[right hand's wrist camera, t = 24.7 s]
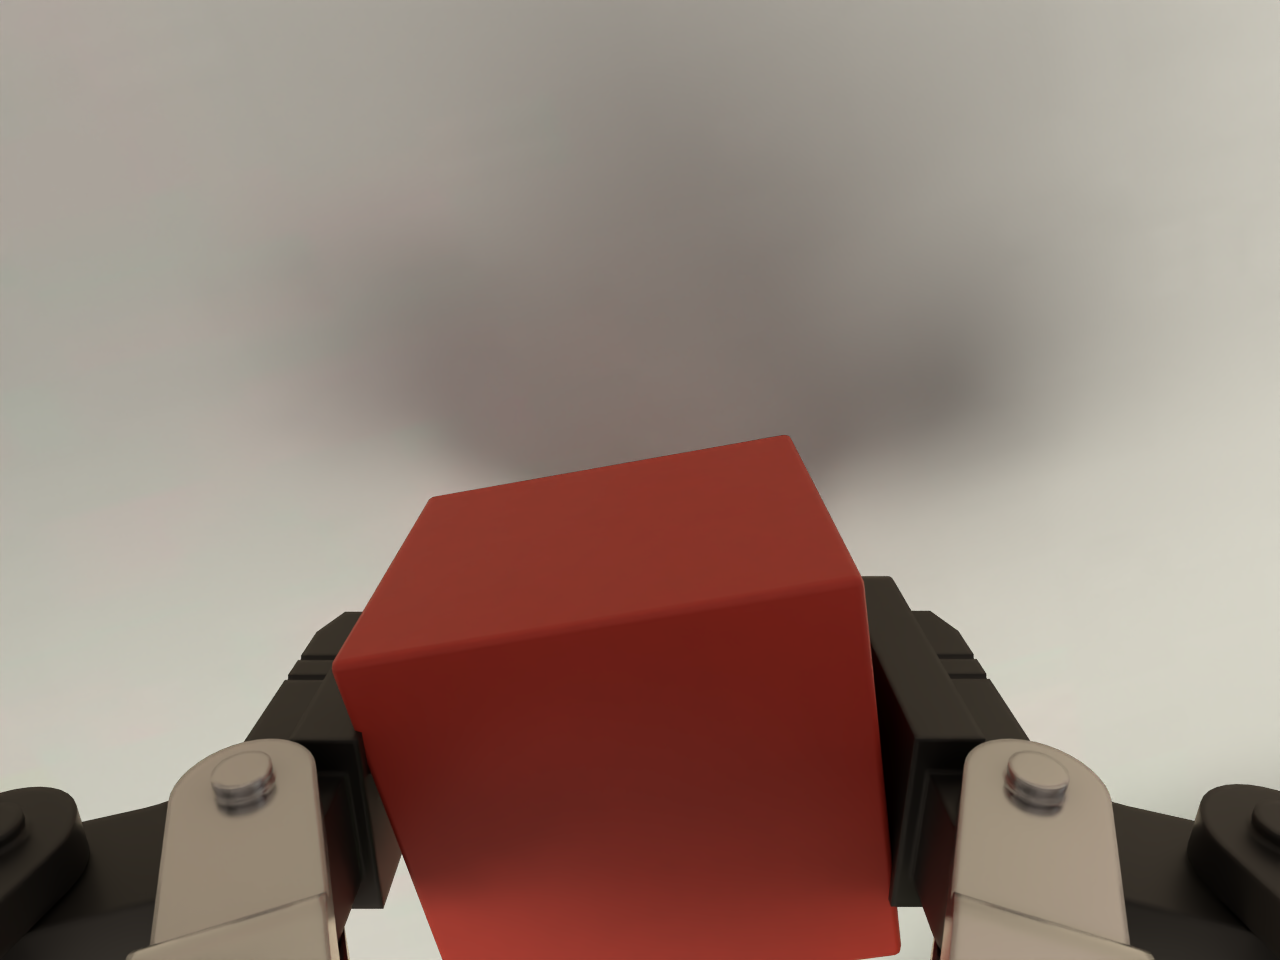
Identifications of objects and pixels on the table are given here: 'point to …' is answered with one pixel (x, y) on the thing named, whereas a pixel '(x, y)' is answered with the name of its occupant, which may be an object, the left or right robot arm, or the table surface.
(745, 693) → the brick
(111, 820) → the right robot arm
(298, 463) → the table surface
